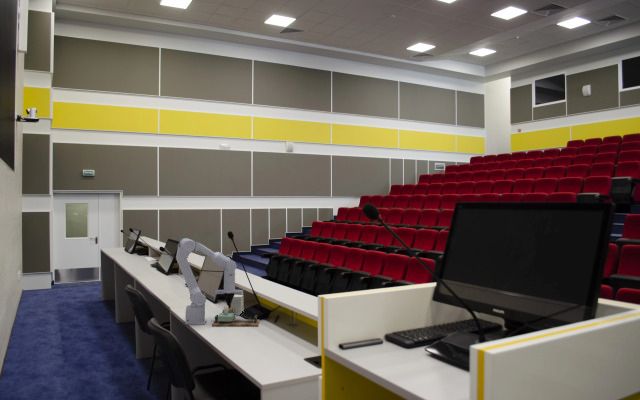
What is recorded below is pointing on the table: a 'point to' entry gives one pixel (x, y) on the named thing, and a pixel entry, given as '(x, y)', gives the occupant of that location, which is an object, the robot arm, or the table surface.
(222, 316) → the carriage
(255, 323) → the rail bed
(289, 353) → the table surface
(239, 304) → the small box
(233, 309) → the gauge cabinet
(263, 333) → the table surface
